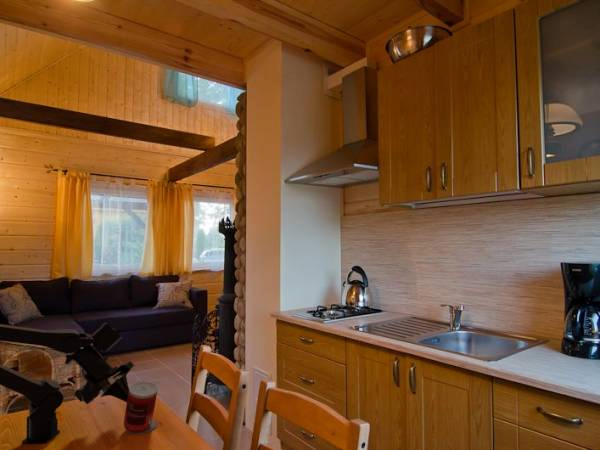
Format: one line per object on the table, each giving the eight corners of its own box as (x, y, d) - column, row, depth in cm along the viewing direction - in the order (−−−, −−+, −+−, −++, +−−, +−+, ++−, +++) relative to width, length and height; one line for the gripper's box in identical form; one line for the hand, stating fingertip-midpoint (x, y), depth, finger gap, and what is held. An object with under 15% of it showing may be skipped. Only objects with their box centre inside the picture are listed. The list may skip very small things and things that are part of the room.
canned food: (146, 413, 115) (152, 379, 114) (155, 429, 109) (161, 393, 108) (119, 419, 110) (125, 383, 109) (127, 436, 104) (133, 398, 103)
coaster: (122, 434, 106) (122, 433, 106) (136, 420, 114) (136, 420, 114) (150, 434, 106) (150, 434, 106) (162, 421, 113) (162, 420, 114)
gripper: (93, 371, 121) (128, 406, 120) (52, 397, 103) (92, 438, 102) (117, 346, 121) (151, 381, 120) (79, 367, 102) (120, 408, 101)
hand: (130, 401), depth 111 cm, fingers closed
